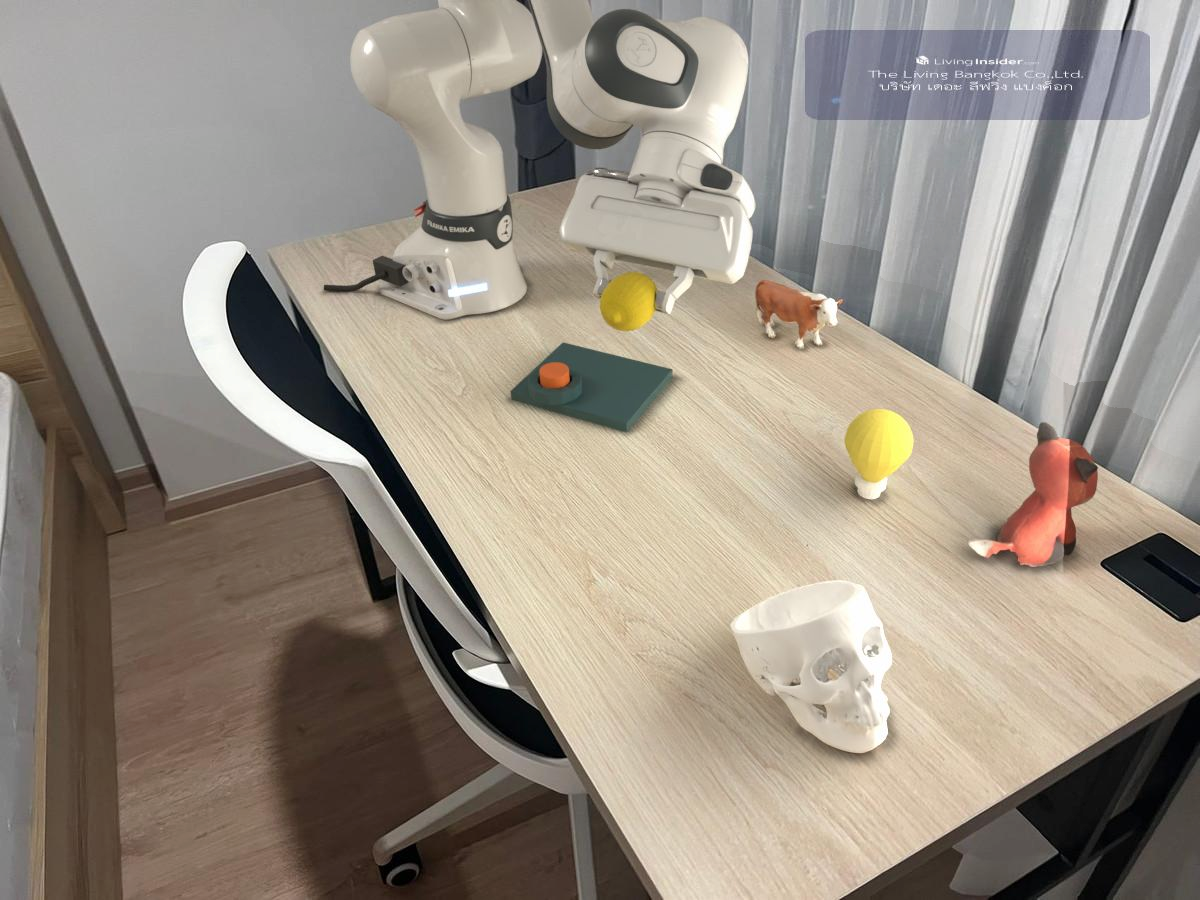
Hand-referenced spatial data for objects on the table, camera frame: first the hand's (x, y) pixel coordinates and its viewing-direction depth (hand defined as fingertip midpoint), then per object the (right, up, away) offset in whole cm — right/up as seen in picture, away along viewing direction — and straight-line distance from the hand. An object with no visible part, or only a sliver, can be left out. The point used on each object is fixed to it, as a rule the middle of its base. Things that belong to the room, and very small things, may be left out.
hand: (631, 304), depth 92 cm
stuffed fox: (+38, -25, -4) cm, 45 cm away
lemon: (-2, -2, -3) cm, 5 cm away
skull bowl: (+14, -35, -16) cm, 41 cm away
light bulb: (+25, -20, +3) cm, 32 cm away
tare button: (-9, -7, +17) cm, 21 cm away
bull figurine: (+23, 0, +29) cm, 37 cm away
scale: (-4, -7, +21) cm, 22 cm away
